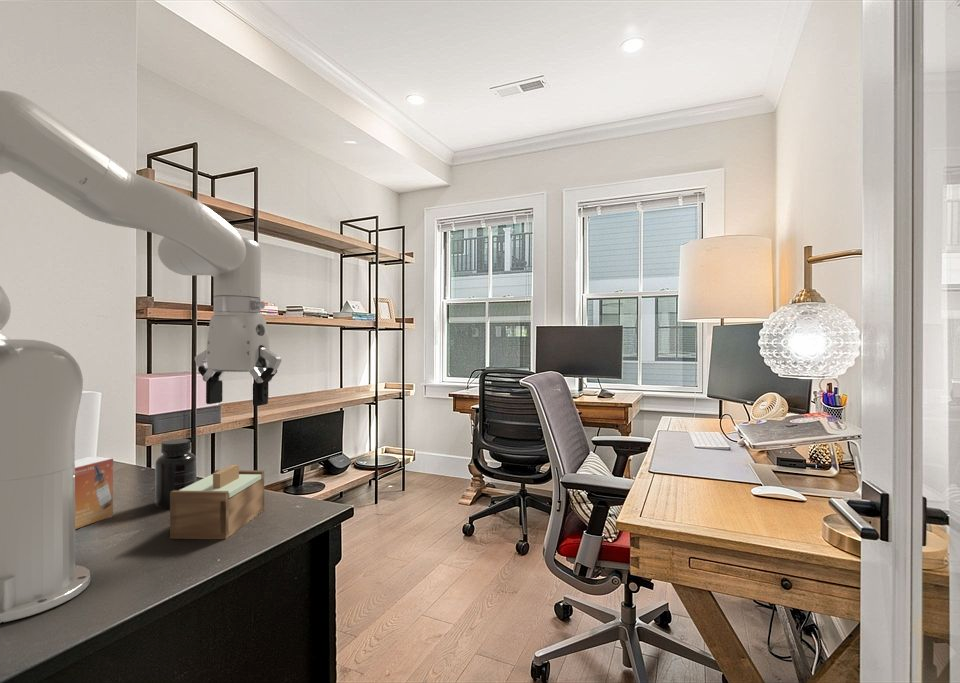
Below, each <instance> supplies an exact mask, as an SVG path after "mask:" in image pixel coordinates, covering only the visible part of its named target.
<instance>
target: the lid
mask: <svg viewBox="0 0 960 683" xmlns="http://www.w3.org/2000/svg"><path fill="white" fill-rule="evenodd" d="M219 470H220V471H218V472H216V473H214V472H213V473H212V474H210V475H208V476H206V477H203V478H202V479H199V480H196V482H195V483H193V484H191V485H189V486H187V487H185V488H183V489H181V490H179V491H228V498H230V497H232V496H234V495H235V494H237V493H239V492H240V491H242V490H244V489H245V488H247V487H249V486H250V485H252V484H254V483H255V482H257V481H258V480H260V479H261V474H239V470H240V464H234V463H233V464H231V465H228V466H226V467H225V468H221V469H219Z"/></svg>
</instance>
